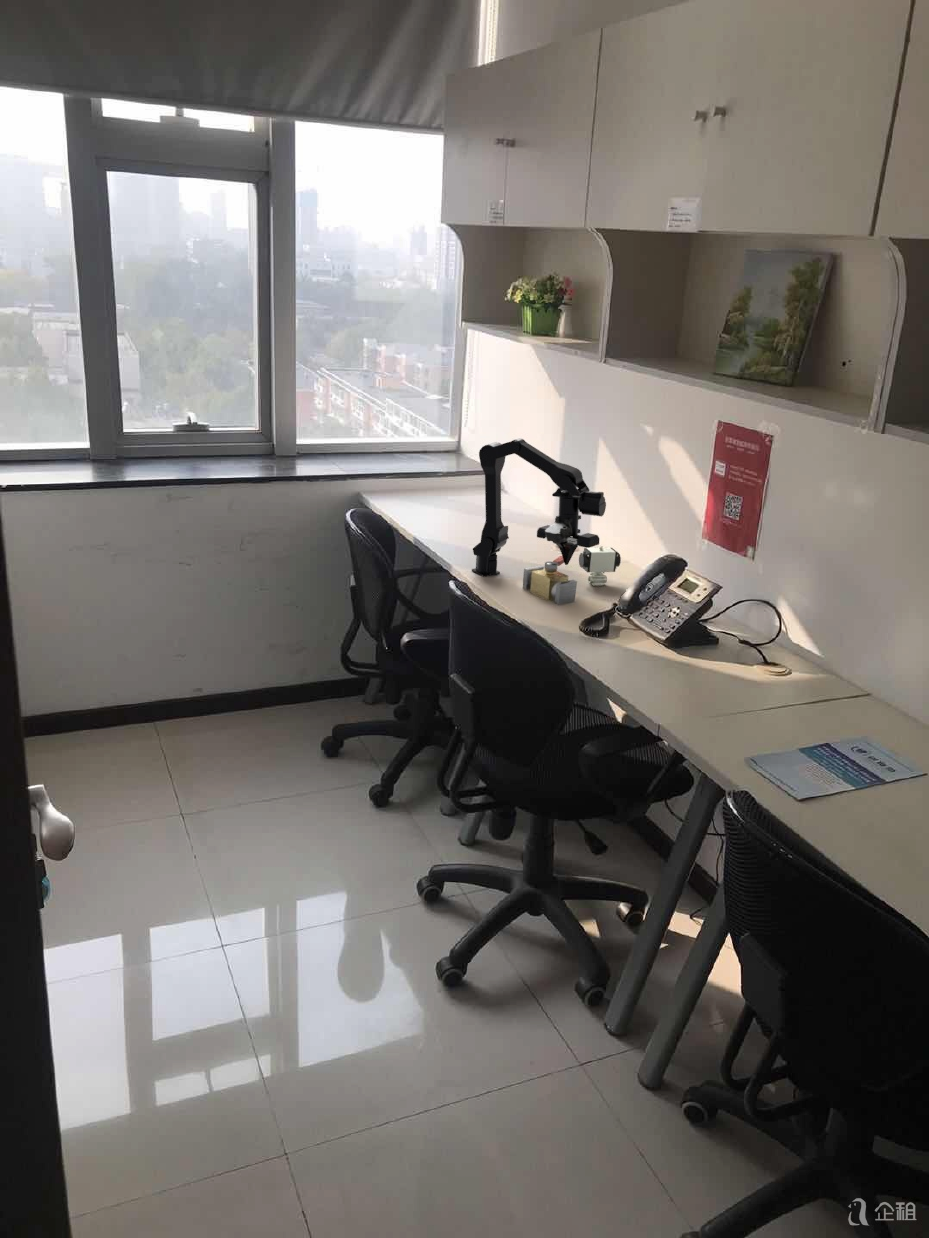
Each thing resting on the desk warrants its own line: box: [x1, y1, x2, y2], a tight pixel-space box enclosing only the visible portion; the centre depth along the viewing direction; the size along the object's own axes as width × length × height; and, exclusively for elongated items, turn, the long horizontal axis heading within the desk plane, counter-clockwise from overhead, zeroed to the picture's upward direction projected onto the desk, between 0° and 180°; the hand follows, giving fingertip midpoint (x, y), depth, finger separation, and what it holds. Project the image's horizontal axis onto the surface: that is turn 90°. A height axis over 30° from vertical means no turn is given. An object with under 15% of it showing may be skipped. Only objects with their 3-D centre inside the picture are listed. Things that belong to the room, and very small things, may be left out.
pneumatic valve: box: [578, 545, 622, 587], centre depth 294 cm, size 6×12×12 cm, turn 104°
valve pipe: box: [522, 565, 578, 606], centre depth 283 cm, size 16×7×7 cm, turn 36°
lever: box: [544, 555, 565, 572], centre depth 285 cm, size 12×4×2 cm, turn 154°
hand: (566, 564), depth 287 cm, fingers closed
